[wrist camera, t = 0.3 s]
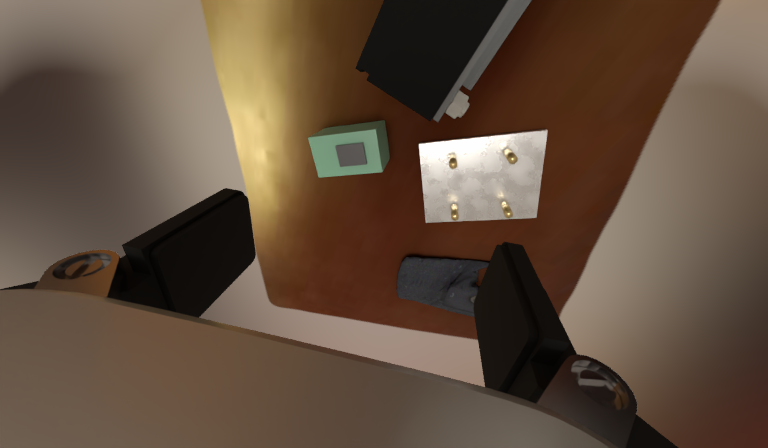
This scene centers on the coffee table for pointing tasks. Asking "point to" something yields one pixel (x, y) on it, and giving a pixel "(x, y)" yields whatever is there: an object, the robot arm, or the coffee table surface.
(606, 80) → the coffee table surface
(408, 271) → the dark slate chunk
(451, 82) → the electrical component
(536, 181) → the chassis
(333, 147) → the green block
